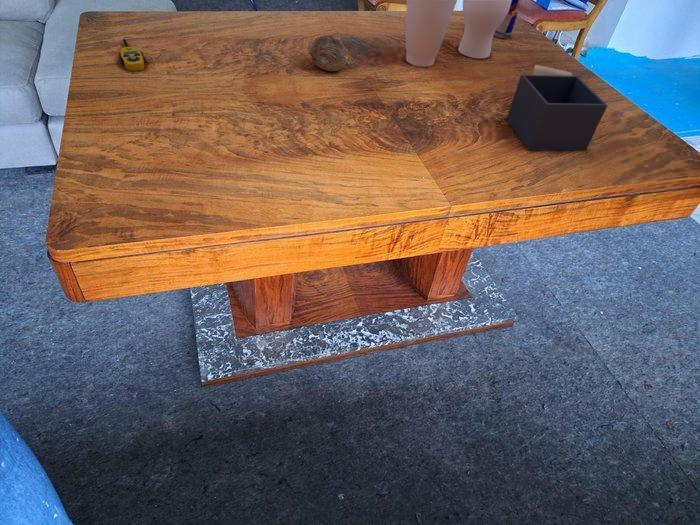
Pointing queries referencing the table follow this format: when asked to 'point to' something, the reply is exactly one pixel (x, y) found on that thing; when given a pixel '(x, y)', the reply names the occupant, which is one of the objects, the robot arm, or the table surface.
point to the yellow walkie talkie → (131, 58)
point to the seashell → (327, 53)
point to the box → (555, 112)
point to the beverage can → (508, 21)
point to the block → (549, 71)
